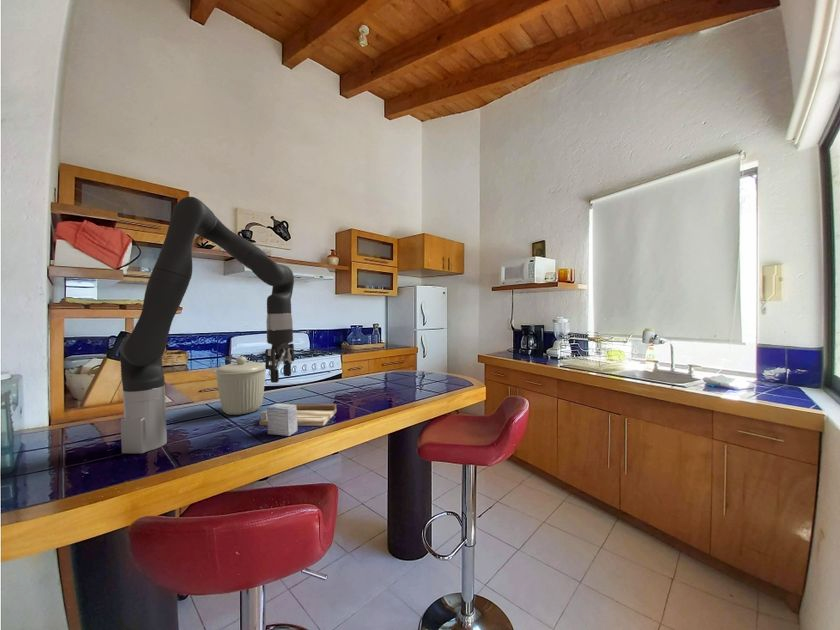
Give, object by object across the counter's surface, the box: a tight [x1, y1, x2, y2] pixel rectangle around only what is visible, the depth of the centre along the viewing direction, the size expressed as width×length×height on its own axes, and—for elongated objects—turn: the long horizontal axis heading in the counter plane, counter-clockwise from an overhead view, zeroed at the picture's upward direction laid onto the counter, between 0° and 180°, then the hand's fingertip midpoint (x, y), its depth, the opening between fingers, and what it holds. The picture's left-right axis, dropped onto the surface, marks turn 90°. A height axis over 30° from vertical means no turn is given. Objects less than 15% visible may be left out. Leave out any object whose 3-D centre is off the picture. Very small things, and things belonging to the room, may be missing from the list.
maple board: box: [258, 408, 337, 427], centre depth 116 cm, size 14×22×2 cm, turn 87°
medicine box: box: [266, 403, 298, 437], centre depth 103 cm, size 8×4×9 cm, turn 74°
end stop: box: [260, 408, 267, 420], centre depth 116 cm, size 10×2×2 cm, turn 177°
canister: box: [213, 356, 267, 416], centre depth 125 cm, size 18×18×21 cm
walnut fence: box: [290, 403, 337, 410], centre depth 122 cm, size 2×22×2 cm, turn 87°
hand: (281, 379), depth 103 cm, fingers open, 8 cm apart
